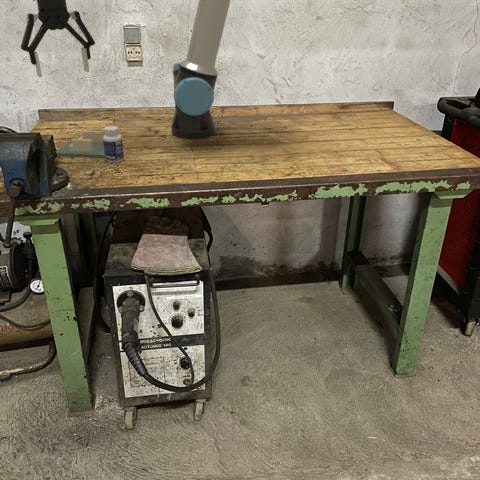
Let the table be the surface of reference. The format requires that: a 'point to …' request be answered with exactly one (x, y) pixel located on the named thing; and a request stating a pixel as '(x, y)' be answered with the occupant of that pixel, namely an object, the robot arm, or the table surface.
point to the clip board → (84, 146)
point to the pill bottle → (113, 145)
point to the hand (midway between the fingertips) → (63, 73)
